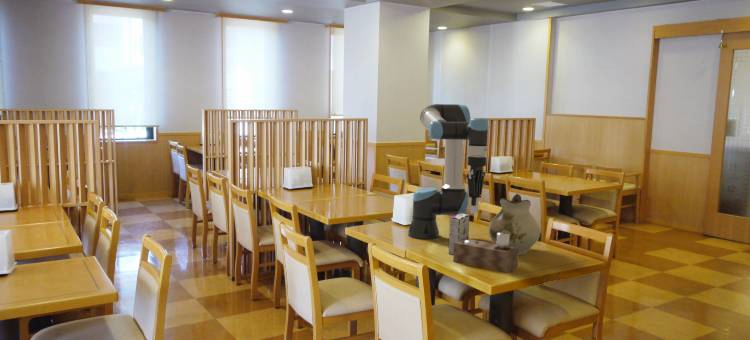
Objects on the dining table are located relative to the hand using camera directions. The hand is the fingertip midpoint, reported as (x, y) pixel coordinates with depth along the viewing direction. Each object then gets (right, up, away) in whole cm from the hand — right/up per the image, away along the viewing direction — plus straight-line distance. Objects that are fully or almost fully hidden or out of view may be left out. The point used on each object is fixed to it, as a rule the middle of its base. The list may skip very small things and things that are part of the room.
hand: (474, 213), depth 235 cm
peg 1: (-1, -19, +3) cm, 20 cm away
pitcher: (+21, -19, +22) cm, 36 cm away
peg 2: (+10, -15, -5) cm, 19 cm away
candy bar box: (-4, -19, +17) cm, 26 cm away
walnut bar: (+4, -21, 0) cm, 22 cm away
